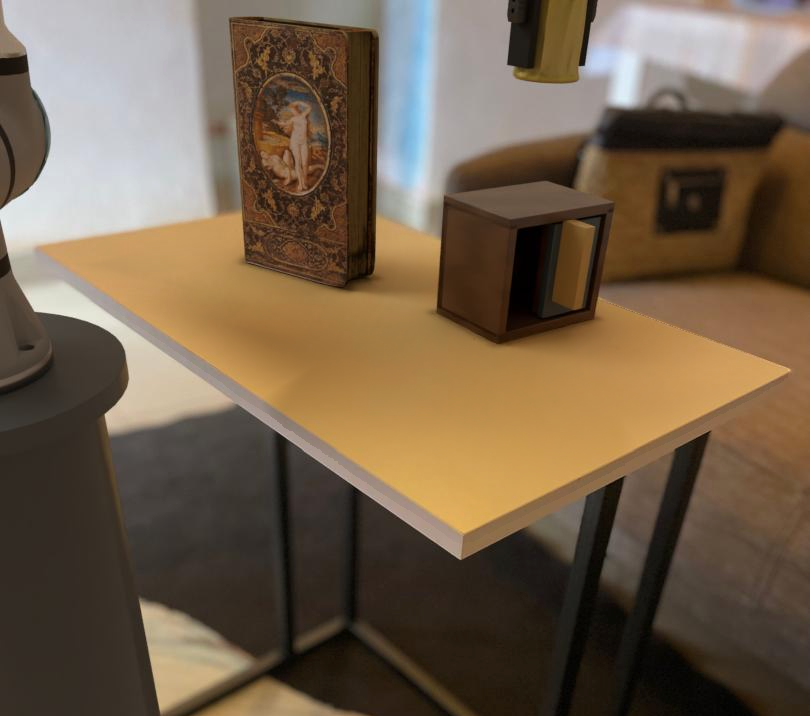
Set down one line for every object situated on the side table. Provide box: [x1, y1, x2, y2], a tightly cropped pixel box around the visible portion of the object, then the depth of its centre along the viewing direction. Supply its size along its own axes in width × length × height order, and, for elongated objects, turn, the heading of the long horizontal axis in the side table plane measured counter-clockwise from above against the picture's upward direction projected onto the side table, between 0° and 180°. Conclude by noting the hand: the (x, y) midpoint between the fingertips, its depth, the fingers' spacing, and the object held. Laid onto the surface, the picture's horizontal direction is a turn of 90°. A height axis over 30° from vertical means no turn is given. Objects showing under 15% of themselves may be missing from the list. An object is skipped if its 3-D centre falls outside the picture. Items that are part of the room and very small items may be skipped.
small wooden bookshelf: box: [435, 180, 616, 344], centre depth 87 cm, size 10×14×12 cm
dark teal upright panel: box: [537, 215, 601, 318], centre depth 84 cm, size 4×6×10 cm, turn 126°
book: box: [228, 16, 380, 288], centre depth 92 cm, size 16×6×25 cm, turn 57°
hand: (546, 64), depth 76 cm, fingers closed on vase, 6 cm apart
